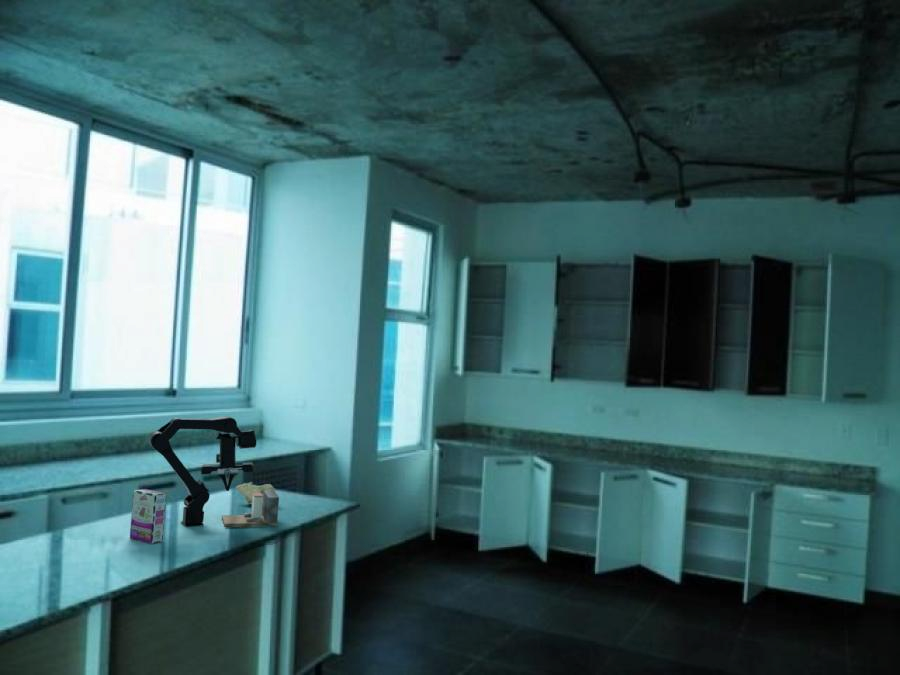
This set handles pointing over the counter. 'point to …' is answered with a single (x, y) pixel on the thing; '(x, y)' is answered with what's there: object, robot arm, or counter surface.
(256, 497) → the pink-topped white block
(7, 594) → the counter surface
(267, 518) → the wooden platform
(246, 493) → the cheese
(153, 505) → the candy bar box
